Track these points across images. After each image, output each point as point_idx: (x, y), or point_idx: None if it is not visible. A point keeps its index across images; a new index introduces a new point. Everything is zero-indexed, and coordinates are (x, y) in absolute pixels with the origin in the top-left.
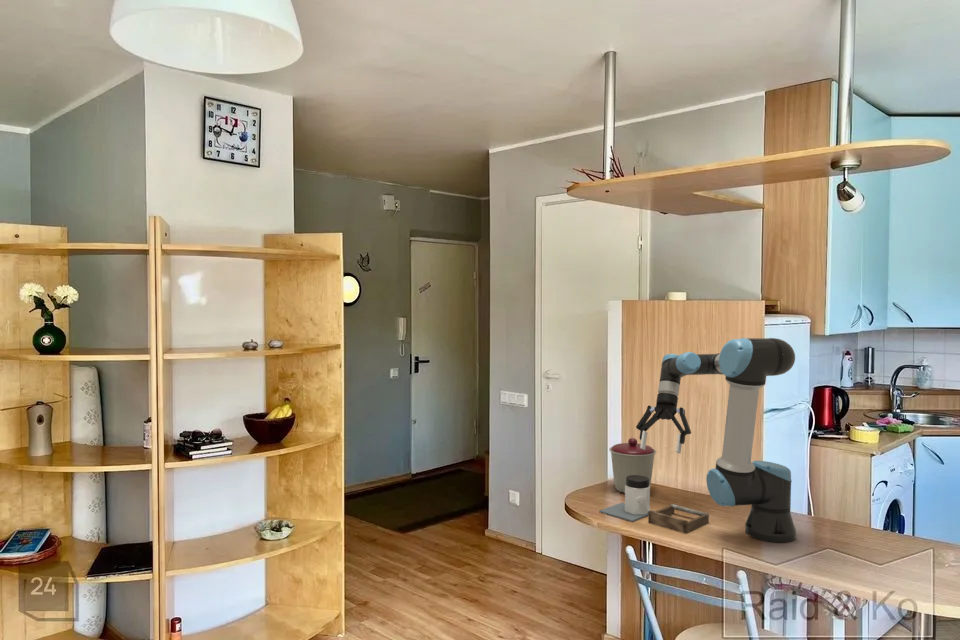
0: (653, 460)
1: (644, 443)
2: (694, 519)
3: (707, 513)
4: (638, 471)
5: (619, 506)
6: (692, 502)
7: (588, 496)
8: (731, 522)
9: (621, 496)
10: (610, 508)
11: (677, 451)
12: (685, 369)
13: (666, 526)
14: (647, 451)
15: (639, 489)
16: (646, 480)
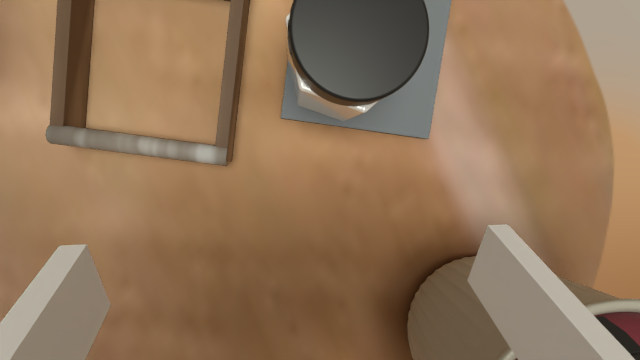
0: None
1: (509, 304)
2: (62, 31)
3: (47, 131)
4: (465, 308)
5: (414, 85)
6: (226, 333)
7: (566, 143)
8: (8, 203)
9: (467, 225)
10: (431, 39)
11: (64, 246)
12: None
13: None
14: None
15: None
16: (292, 9)
